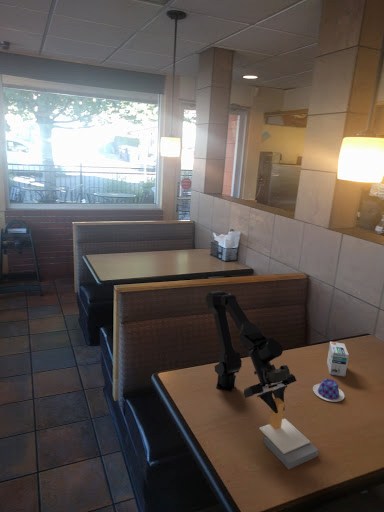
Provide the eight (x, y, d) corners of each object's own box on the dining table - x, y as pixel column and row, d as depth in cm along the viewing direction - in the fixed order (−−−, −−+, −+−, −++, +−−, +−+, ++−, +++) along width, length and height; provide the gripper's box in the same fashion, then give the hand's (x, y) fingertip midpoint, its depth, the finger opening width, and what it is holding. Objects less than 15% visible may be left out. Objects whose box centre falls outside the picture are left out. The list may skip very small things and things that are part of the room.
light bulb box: (345, 377, 164) (349, 354, 161) (329, 374, 165) (333, 352, 163) (341, 364, 174) (345, 343, 171) (326, 362, 176) (329, 341, 173)
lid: (259, 428, 126) (262, 402, 124) (284, 419, 132) (288, 394, 129) (283, 454, 116) (287, 426, 114) (310, 442, 121) (314, 415, 119)
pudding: (307, 392, 152) (308, 380, 151) (321, 381, 161) (323, 370, 159) (335, 407, 144) (337, 395, 143) (349, 395, 152) (351, 383, 151)
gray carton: (263, 442, 124) (264, 436, 123) (291, 431, 130) (291, 425, 129) (288, 469, 114) (289, 462, 113) (317, 456, 120) (318, 449, 119)
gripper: (252, 364, 120) (271, 415, 114) (296, 352, 129) (316, 399, 123) (235, 373, 129) (252, 421, 123) (278, 362, 138) (295, 406, 131)
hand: (280, 411), depth 125 cm, fingers closed on lid, 2 cm apart
